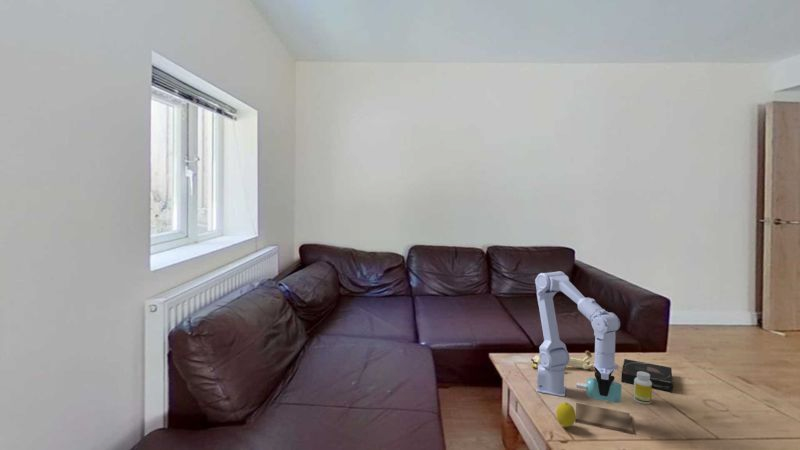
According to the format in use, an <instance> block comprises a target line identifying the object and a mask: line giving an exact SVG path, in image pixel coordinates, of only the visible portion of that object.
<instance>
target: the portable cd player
mask: <svg viewBox="0 0 800 450" xmlns="http://www.w3.org/2000/svg"><path fill="white" fill-rule="evenodd" d="M639 371H642V372H646V373H649V374H650V379H649V380H650V381H651V382H652V390H657V391H662V392H666V393H670V394H673V388H674V383H673V371H672V367H670V366H664V365H659V364H653V363H649V362H645V361H644V362H643V361H637V360H631V359H627V358H624V360H623V365H622V370H621V381H620V382H621V383H623V384H626V385H627V384H629V385H632V386H634V379H635V378H636V377H637V372H639Z"/></svg>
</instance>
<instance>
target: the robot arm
mask: <svg viewBox="0 0 800 450" xmlns="http://www.w3.org/2000/svg"><path fill="white" fill-rule="evenodd" d="M534 283H535V288H536V298H537V304H538V308H539V309H538V310H539V311H538V312H539V317H540V322H541V327H542V328H541V330H542V334H543V335H542V336H543V342H542V343H541V345H540V346H539V347H538V348H539V349H538V350H539V354H538V355H539V360H540V363H541V364H542V365H541V364H539V365H538V368H537V374H536V375H537V376H536V377H537V379H536V392H538V393H544V394H548V395H553V396H554V395H555V396H558V397H559V396H560V397H563V398H564V397H565V395H566V386H565V368H567V365H566V364H568V363H569V360H570V354H569V351H568V350H567V346H566V344H565V343H564V342H563V341H562V340H561V339H560V333H559V327H558V321H557V315H556V309H555V305H554V304H555V303H554V296H555V295H556V294H557V293H558V292H561V293H563V294H564V295H565V296H566V297H568V298H569V299H570V300H571V301H573V303H575V304H576V305H577V310H578V312H580V313H581V314H582V315H583V317H585V318H586V319H587V320H588V321H589V322H590V325H591V326H592V329H593V332H594V333H593V336H594V337H595V339H594V362H593V365H594V366H593V368H594V378H595V379H596V380H597V382H598V387H599V393H600V395H601V396H608V393H609V389H610V386H611V384H612V382H615V375H612V374H613V373H614V371H616V370H617V371H618V370H619V365H616V364H615V360H616V359H615V358H616V331H618V330H619V329H620V328H621V321H620V318H618V315H616V314H615V313H614V312H608V311H606V310H605V308H602V307H601V306H600V304H598V303H597V302H596V299H594V298H591V297H585V296H584V295H583V294H582V293H581V292H580V290H579V289H577V287H576V286H575V285H573V283H572V282H571V281H570V277H569V276H568V275H566V273H565V272H563V271H559V270H558V271H553V272H552V271H550V272H540V273H538V275H536V278H535V279H534Z"/></svg>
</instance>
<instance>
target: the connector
mask: <svg viewBox="0 0 800 450" xmlns="http://www.w3.org/2000/svg"><path fill="white" fill-rule="evenodd" d="M576 389H581V390H585V391H586V393H585V394H586V397H589V398H590V399H595V400H599V401H604V402H609V403H610V402H612V403H618V404H619V403H621V402H622V384H621V383H619V382H617V381H613V382H612V384H611V386H610V389H609V393H608V396H601V395H600V393H599V387H598V382H597V380H596V378H595V377H588V378H586V383H583V382H582V383H581V382H576Z"/></svg>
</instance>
